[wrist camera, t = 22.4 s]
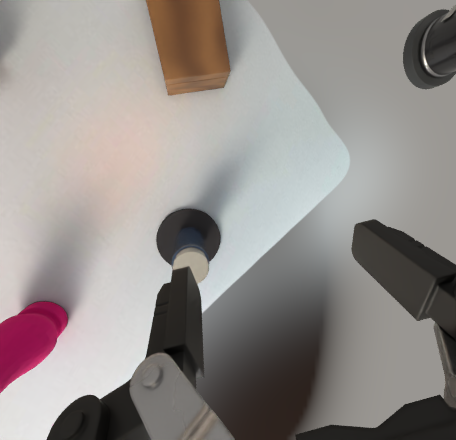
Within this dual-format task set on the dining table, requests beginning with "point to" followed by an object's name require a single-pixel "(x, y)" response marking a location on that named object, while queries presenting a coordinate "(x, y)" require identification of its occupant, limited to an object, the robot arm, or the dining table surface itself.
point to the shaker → (191, 253)
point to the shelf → (190, 44)
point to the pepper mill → (29, 339)
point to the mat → (185, 220)
